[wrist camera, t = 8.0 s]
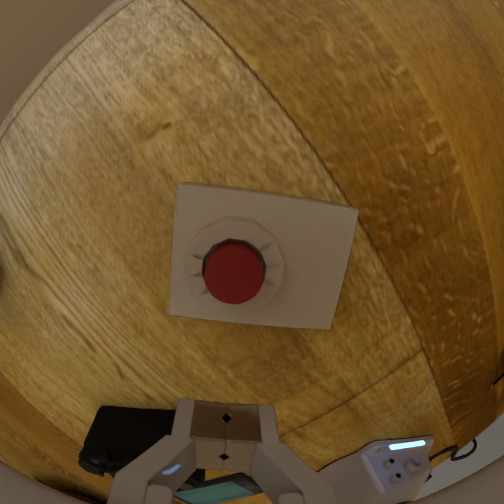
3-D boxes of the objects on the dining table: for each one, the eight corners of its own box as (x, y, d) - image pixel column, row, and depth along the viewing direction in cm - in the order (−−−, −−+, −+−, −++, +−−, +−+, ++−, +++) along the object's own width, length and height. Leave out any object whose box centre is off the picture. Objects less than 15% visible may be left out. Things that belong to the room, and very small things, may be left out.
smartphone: (267, 492, 33) (194, 507, 34) (266, 486, 34) (194, 502, 36) (240, 477, 31) (165, 493, 32) (240, 471, 32) (165, 488, 34)
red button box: (348, 205, 22) (370, 214, 18) (323, 317, 25) (336, 342, 21) (183, 181, 21) (171, 185, 17) (174, 302, 24) (164, 327, 20)
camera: (121, 448, 30) (105, 503, 20) (92, 398, 27) (63, 460, 17) (218, 455, 30) (217, 518, 21) (204, 406, 27) (198, 483, 18)
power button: (264, 245, 19) (267, 253, 17) (256, 295, 20) (258, 307, 18) (209, 239, 19) (206, 246, 17) (204, 290, 20) (202, 301, 18)
